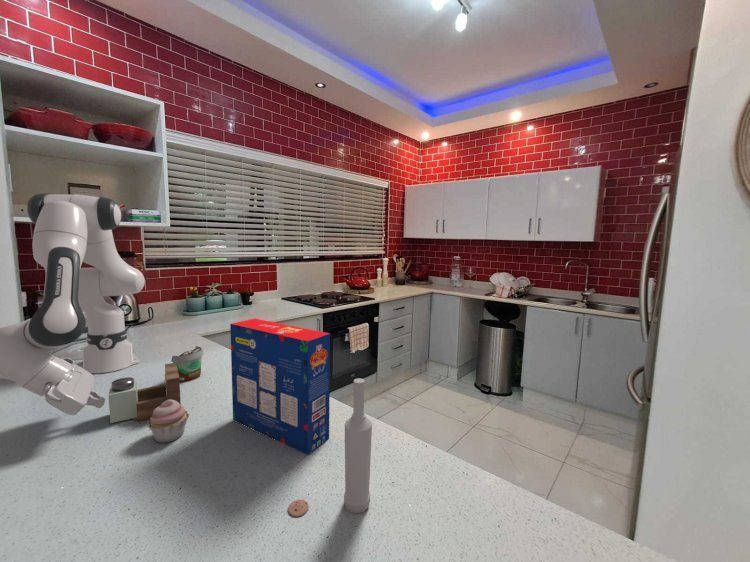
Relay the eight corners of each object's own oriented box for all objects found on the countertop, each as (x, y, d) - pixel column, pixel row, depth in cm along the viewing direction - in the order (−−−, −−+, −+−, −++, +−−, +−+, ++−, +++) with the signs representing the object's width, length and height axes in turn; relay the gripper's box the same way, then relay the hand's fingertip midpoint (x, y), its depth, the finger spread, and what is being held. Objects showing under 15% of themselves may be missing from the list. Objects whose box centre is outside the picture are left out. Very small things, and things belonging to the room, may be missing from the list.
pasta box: (329, 438, 86) (329, 333, 82) (307, 455, 79) (307, 341, 76) (256, 409, 100) (254, 318, 97) (233, 420, 93) (230, 323, 90)
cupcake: (145, 451, 79) (142, 411, 78) (150, 431, 87) (148, 395, 86) (190, 441, 83) (188, 403, 82) (191, 423, 91) (189, 388, 90)
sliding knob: (112, 412, 95) (110, 378, 94) (138, 406, 99) (136, 374, 98) (110, 423, 90) (107, 388, 88) (137, 417, 93) (135, 383, 92)
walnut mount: (134, 404, 101) (132, 369, 100) (177, 395, 107) (175, 362, 106) (133, 425, 90) (130, 386, 88) (181, 414, 96) (179, 377, 95)
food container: (187, 385, 115) (186, 357, 114) (172, 383, 116) (171, 356, 115) (211, 372, 127) (210, 346, 125) (197, 370, 128) (196, 345, 127)
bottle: (343, 494, 67) (345, 375, 64) (369, 492, 67) (372, 374, 64) (343, 514, 62) (345, 386, 59) (371, 513, 62) (374, 386, 59)
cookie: (309, 500, 65) (309, 496, 65) (308, 517, 61) (308, 512, 61) (289, 502, 65) (289, 497, 65) (286, 519, 61) (286, 514, 61)
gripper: (52, 381, 77) (109, 410, 84) (69, 355, 94) (115, 381, 100) (27, 404, 75) (87, 432, 82) (49, 374, 92) (97, 399, 98)
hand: (103, 403), depth 91 cm, fingers closed
